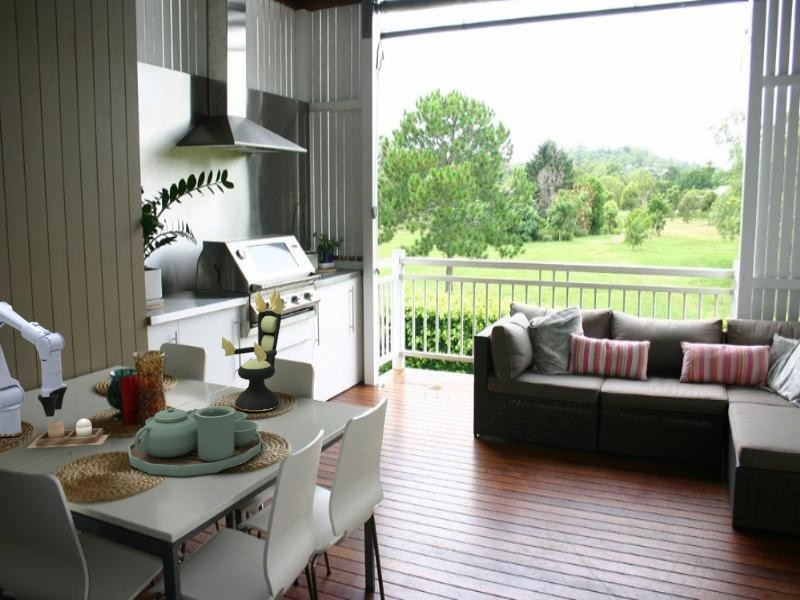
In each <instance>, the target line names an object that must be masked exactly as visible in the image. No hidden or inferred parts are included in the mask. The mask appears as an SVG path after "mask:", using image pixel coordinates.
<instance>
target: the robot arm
mask: <svg viewBox="0 0 800 600" xmlns="http://www.w3.org/2000/svg"><path fill="white" fill-rule="evenodd" d="M13 309H14V308H13V306H12V305H10V304H8V303H7V302H6V301H0V328H2V327H3V325H5V324H7V325H8V326H10V327H12V328H14V329H15V330H18V331H19V332H20V335H21V336H22V338H23V339H25V340H26V341H28V342H29V343H31V344H33V345H34V346H35V349H36V352H38V358H39V359H40V364H41V367H40V368H41V384H42V385H41V394H39V395H37V400H38V401H39V402H40V403H41V406H42V408H43V411H44V415H45V416H46V417H50V418H51V417H54V416H55V412H56V410H62V408H63V402H64V397H65V394H66V391H67V390H68V386H67V383H64V381H63V367H62V353H61V352H62V350H63V349H64V348H65V345H66V343H65V339H64V337H63V335H61V334H60V333H59V332H54V333H53V332H50V330H49V329H45V328H44V327H43V326H41V325H40V324H39V323H38V322H37V321H36V322H35V321H31V322H29V321H27V320H26V319H24V318H23V317H22V316H20V314H18V313H17V312H15V311H14V310H13ZM25 398H26V392H25V390H24V388H23V387H22V386H21V384H20V381H19V380H18V379H15V378H13V377H11V373H10V371H9V367H8V364H7V361H6V359H5V355H4V352H3V348H2V345H1V344H0V434H1V435H4V434H14V433H18V432H20V431H21V428H22V421H21V420H22V419H21V407H22V403H23V402H24V401H25Z"/></svg>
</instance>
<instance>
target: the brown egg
mask: <svg viewBox="0 0 800 600" xmlns="http://www.w3.org/2000/svg"><path fill="white" fill-rule="evenodd" d="M64 425H65V424H64V423H63V421H62V420H60V419H54V420H51V421H50V422H49V423H48V425H47V431H48V439H57V438H65V437H64V430H65V426H64Z"/></svg>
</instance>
